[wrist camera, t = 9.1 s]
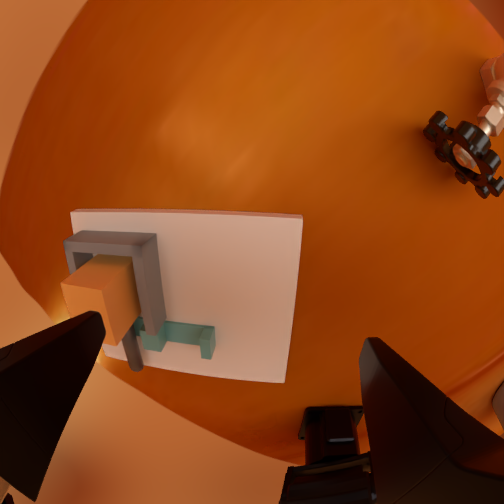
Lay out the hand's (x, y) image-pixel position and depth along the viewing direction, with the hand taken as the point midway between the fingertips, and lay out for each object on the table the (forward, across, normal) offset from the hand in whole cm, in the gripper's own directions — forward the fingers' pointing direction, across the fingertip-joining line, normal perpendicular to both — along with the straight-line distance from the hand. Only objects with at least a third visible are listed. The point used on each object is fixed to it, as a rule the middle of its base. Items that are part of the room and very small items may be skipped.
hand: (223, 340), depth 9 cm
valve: (+12, -16, -11) cm, 23 cm away
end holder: (+11, +10, +4) cm, 16 cm away
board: (+12, +6, +6) cm, 15 cm away
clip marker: (+11, +6, +9) cm, 15 cm away
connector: (+11, +10, +8) cm, 17 cm away
